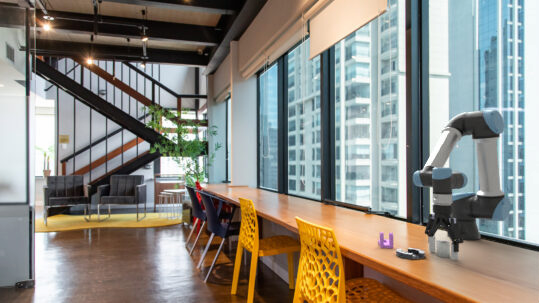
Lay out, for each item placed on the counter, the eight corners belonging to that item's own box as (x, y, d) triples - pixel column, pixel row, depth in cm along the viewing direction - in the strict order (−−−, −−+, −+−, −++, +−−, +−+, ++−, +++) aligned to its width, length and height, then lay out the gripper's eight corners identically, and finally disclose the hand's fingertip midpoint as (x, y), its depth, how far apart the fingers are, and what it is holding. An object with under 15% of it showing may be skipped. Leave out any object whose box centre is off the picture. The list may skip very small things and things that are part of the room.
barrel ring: (413, 251, 155) (413, 247, 155) (430, 258, 144) (430, 253, 144) (390, 253, 152) (390, 248, 152) (406, 260, 141) (406, 255, 141)
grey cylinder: (443, 254, 150) (443, 239, 151) (452, 257, 146) (452, 242, 146) (433, 255, 149) (433, 240, 149) (442, 258, 144) (442, 242, 144)
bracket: (393, 248, 161) (393, 233, 161) (380, 248, 162) (380, 232, 162) (389, 242, 173) (389, 228, 173) (377, 241, 174) (377, 227, 175)
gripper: (415, 201, 159) (416, 249, 158) (457, 208, 135) (457, 264, 135) (429, 200, 161) (430, 248, 160) (473, 207, 137) (473, 263, 136)
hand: (443, 255), depth 147 cm, fingers open, 12 cm apart
